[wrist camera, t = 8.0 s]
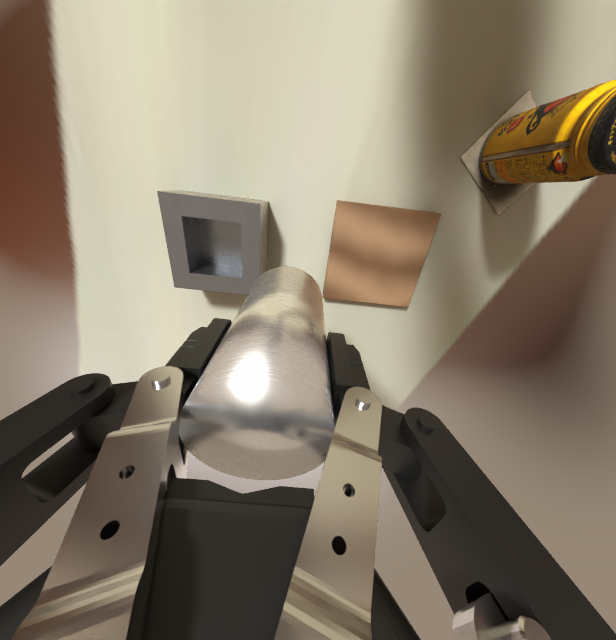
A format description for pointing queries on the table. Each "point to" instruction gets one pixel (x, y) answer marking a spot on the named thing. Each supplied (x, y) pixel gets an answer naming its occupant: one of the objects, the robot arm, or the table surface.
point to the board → (377, 252)
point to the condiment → (546, 144)
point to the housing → (215, 240)
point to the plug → (266, 385)
